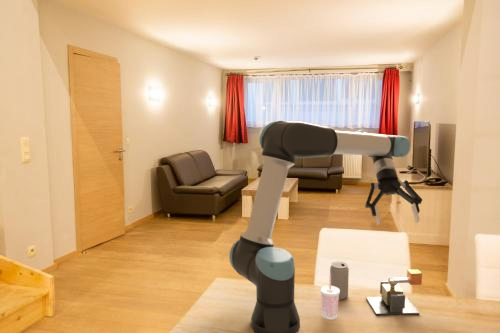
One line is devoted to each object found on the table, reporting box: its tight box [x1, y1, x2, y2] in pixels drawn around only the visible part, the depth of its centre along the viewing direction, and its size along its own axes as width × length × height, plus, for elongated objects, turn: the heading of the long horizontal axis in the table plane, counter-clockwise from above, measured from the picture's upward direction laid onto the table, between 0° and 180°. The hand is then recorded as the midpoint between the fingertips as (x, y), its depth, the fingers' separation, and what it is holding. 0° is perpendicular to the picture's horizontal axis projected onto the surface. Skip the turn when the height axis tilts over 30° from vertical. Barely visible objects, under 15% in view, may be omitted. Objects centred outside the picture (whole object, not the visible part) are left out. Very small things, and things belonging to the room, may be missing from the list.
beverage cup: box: [320, 274, 340, 321], centre depth 124 cm, size 6×6×14 cm
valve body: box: [365, 280, 421, 317], centre depth 129 cm, size 14×11×8 cm
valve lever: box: [387, 269, 423, 286], centre depth 128 cm, size 10×3×4 cm, turn 90°
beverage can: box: [329, 261, 350, 301], centre depth 137 cm, size 6×6×12 cm
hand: (398, 222), depth 139 cm, fingers open, 13 cm apart
